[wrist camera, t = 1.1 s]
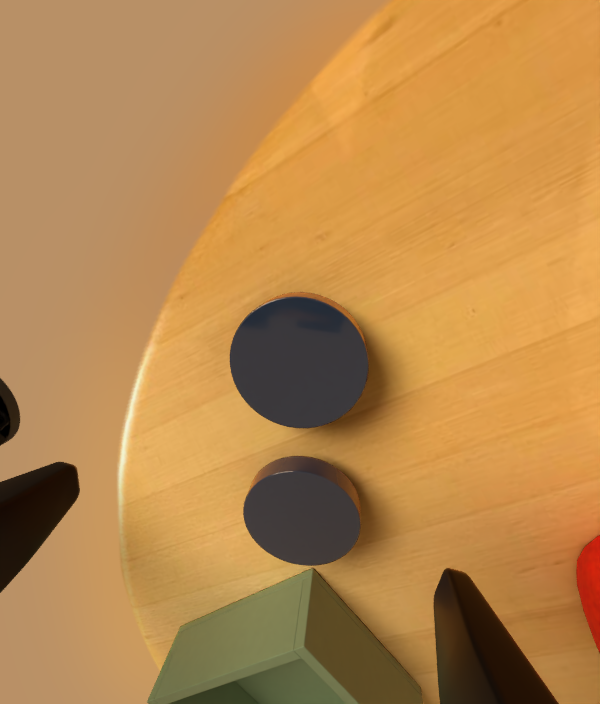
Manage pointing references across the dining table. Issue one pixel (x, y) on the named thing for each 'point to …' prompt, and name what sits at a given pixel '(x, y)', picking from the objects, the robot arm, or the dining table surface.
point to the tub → (282, 653)
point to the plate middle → (303, 511)
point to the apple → (590, 586)
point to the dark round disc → (299, 360)
